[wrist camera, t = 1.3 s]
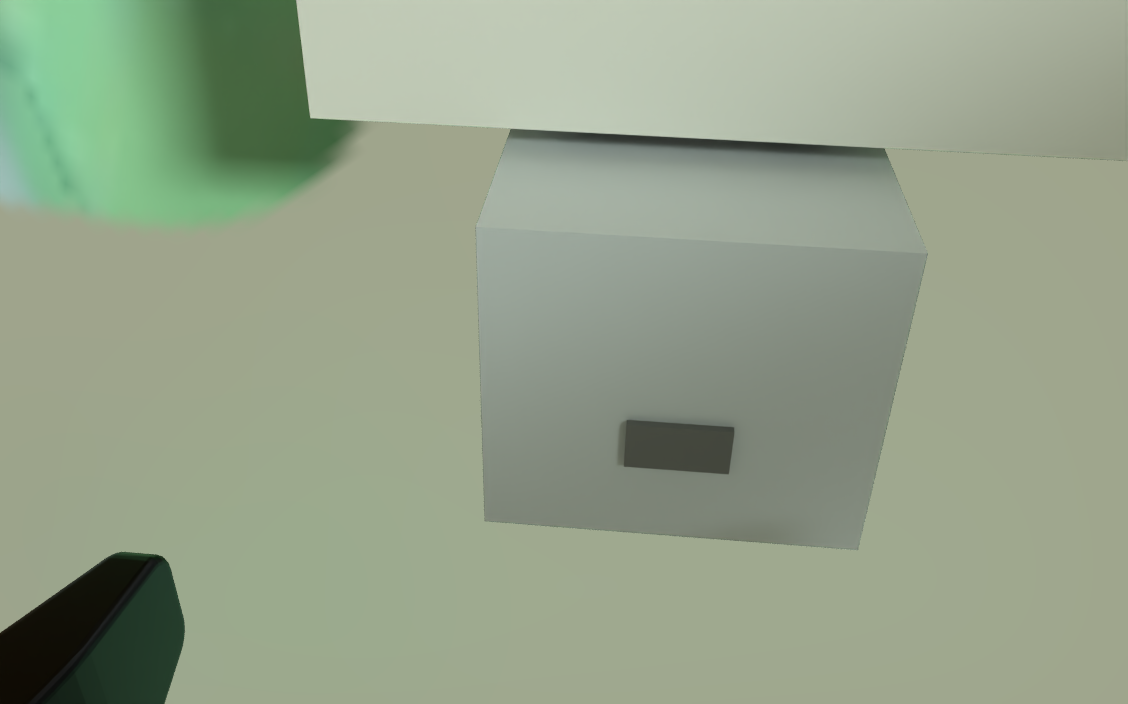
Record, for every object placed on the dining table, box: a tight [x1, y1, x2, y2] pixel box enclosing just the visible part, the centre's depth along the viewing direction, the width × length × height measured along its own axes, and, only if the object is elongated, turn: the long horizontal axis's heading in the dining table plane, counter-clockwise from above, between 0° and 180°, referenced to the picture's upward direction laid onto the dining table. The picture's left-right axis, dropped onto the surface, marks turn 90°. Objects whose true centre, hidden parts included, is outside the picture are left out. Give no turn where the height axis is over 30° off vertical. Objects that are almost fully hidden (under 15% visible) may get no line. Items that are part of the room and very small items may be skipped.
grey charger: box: [476, 129, 928, 550], centre depth 14 cm, size 4×6×6 cm
